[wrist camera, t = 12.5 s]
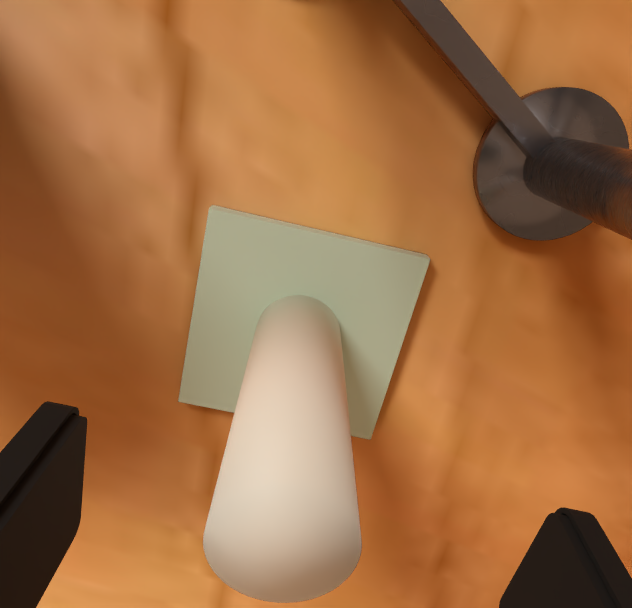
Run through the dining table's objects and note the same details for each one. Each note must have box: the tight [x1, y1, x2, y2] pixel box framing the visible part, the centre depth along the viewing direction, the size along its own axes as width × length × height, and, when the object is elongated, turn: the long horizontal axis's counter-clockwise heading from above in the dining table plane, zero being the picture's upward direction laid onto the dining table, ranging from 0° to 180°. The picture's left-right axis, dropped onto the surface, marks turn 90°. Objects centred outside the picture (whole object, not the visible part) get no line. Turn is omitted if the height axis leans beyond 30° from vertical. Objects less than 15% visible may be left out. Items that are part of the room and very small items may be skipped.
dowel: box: [203, 295, 362, 603], centre depth 15 cm, size 3×3×10 cm
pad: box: [178, 205, 430, 440], centre depth 20 cm, size 8×8×1 cm
